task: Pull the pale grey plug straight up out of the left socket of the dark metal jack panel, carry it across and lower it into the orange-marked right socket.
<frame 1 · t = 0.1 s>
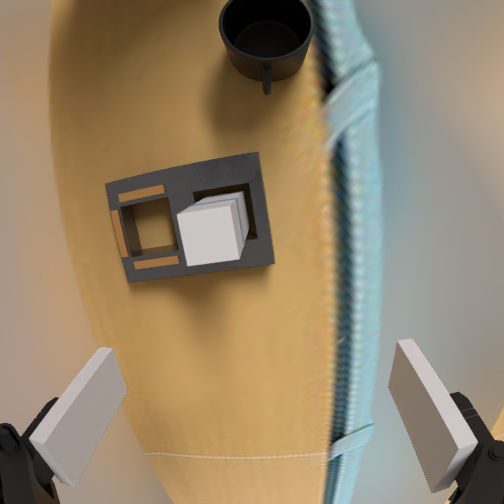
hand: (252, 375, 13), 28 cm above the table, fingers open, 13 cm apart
plug: (229, 210, 40), resting in jack panel
jack panel: (192, 216, 40), on the table
mug: (267, 58, 34), on the table
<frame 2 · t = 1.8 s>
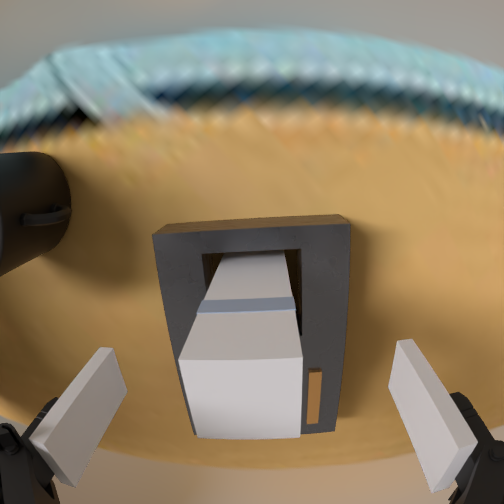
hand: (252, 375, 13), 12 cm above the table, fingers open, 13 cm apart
plug: (255, 278, 25), resting in jack panel
jack panel: (259, 331, 26), on the table
mug: (45, 202, 24), on the table
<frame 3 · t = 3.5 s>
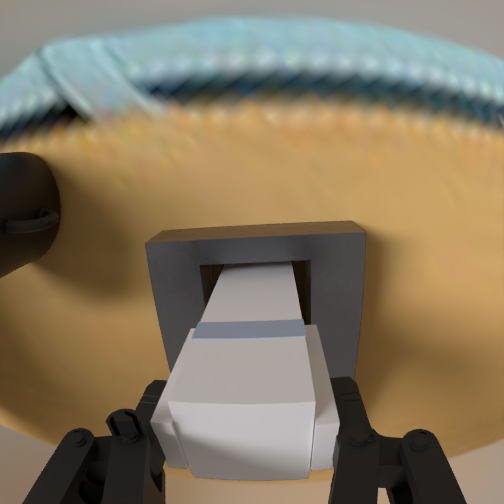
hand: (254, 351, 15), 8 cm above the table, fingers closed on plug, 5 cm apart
plug: (259, 290, 23), resting in jack panel, touching gripper
jack panel: (263, 346, 24), on the table
mug: (34, 206, 22), on the table
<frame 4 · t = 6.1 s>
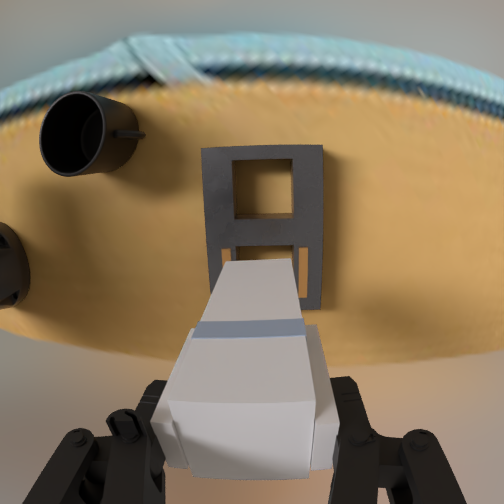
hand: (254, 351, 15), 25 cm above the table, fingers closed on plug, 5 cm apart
plug: (259, 290, 23), point 17 cm above the table, touching gripper
jack panel: (264, 225, 39), on the table
mug: (117, 136, 37), on the table
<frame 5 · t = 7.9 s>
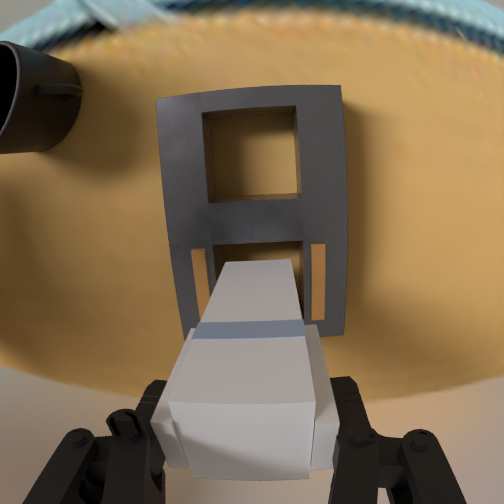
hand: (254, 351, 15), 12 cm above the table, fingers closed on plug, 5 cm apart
plug: (259, 290, 23), point 4 cm above the table, touching gripper
jack panel: (257, 213, 26), on the table
mug: (56, 103, 24), on the table
when the fingers open (10 cm above the table, at t = 9.0 s): plug drops 2 cm, resting in jack panel.
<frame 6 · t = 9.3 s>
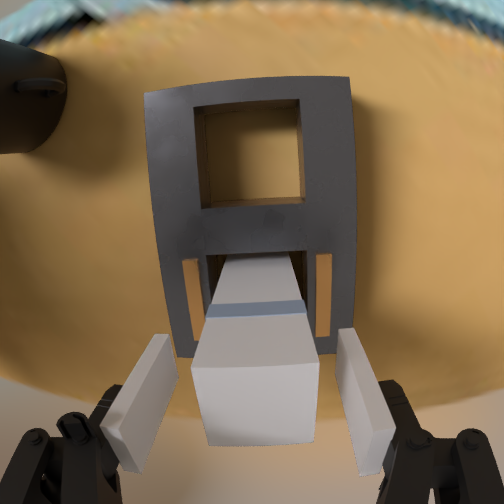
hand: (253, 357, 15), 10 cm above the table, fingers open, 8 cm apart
plug: (259, 280, 25), resting in jack panel
jack panel: (256, 219, 23), on the table
mug: (41, 101, 21), on the table
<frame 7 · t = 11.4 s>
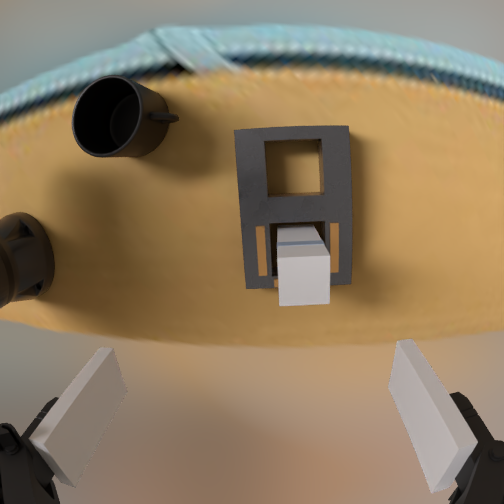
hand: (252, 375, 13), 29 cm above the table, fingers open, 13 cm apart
plug: (295, 241, 41), resting in jack panel
jack panel: (295, 205, 40), on the table
mug: (147, 122, 38), on the table
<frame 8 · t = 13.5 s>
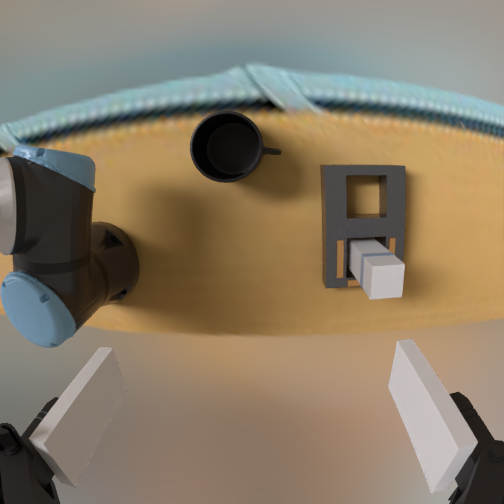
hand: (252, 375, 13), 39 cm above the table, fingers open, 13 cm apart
plug: (359, 251, 51), resting in jack panel
jack panel: (360, 223, 50), on the table
mug: (241, 149, 48), on the table
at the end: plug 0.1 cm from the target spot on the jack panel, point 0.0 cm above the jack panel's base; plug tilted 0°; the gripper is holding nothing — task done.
